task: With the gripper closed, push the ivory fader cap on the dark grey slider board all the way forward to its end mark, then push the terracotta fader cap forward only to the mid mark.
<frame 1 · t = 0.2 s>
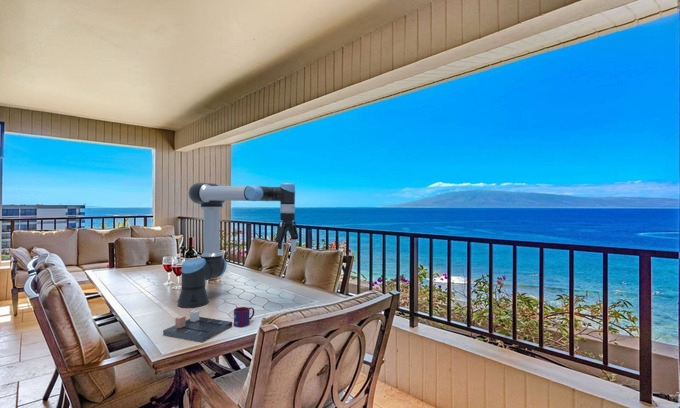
hand: (287, 253, 175), 28 cm above the table, fingers open, 13 cm apart
fader a: (194, 315, 148), point 4 cm above the table, slide at 0.0 cm
fader b: (180, 321, 140), point 4 cm above the table, slide at 0.0 cm
mug: (244, 324, 151), on the table
dark grey slider board: (199, 330, 142), on the table
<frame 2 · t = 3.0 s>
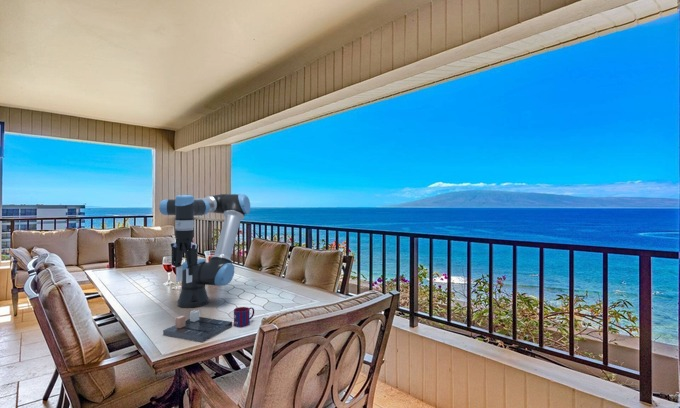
hand: (184, 281, 150), 19 cm above the table, fingers open, 5 cm apart
nothing on the table moved.
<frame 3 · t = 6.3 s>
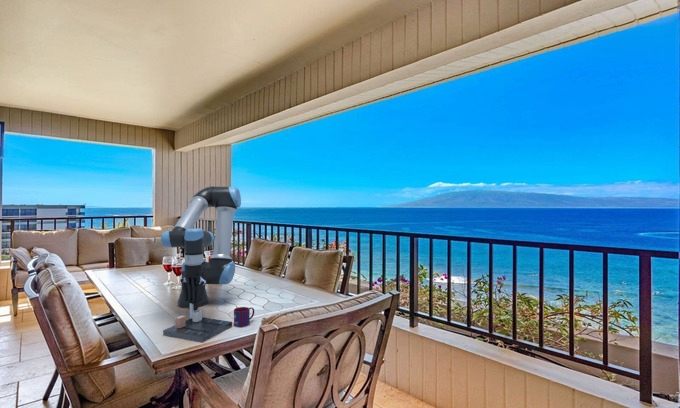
hand: (193, 317, 148), 4 cm above the table, fingers closed
fader a: (197, 316, 148), point 4 cm above the table, slide at 1.4 cm, touching gripper
everything else where it was.
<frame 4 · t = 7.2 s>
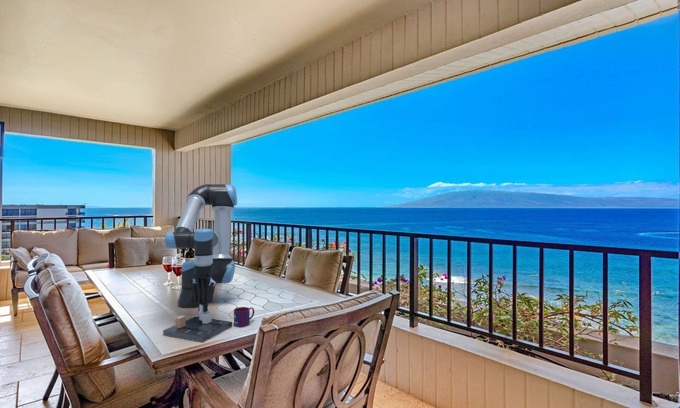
hand: (202, 318, 146), 4 cm above the table, fingers closed
fader a: (206, 317, 146), point 4 cm above the table, slide at 6.6 cm, touching gripper
everything else where it was.
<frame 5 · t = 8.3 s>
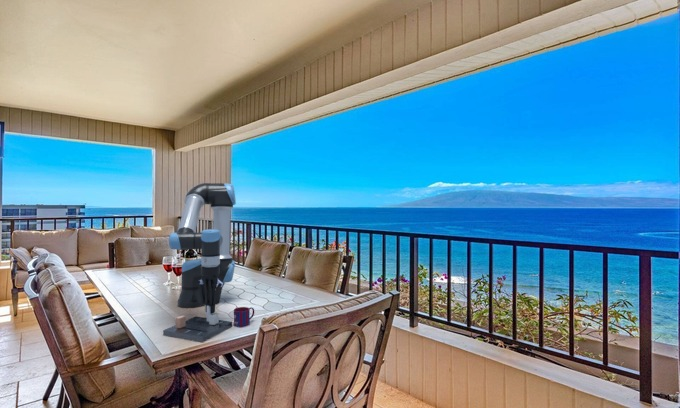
hand: (210, 320, 145), 3 cm above the table, fingers closed
fader a: (214, 318, 145), point 4 cm above the table, slide at 10.4 cm, touching gripper
everything else where it was.
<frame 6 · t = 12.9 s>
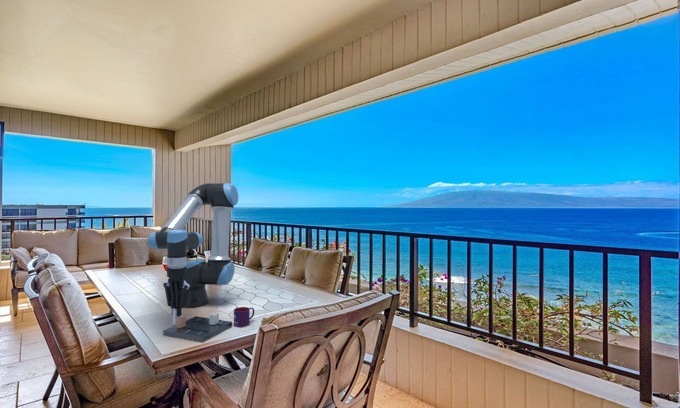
hand: (176, 323, 141), 4 cm above the table, fingers closed
fader a: (214, 318, 145), point 4 cm above the table, slide at 10.4 cm
fader b: (180, 321, 140), point 4 cm above the table, slide at 0.0 cm, touching gripper
everything else where it was.
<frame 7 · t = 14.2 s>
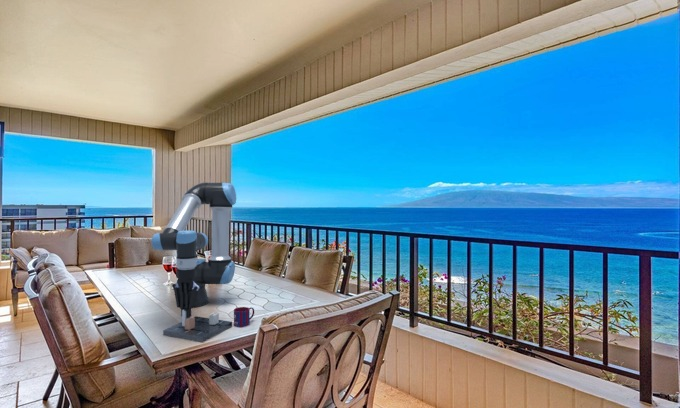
hand: (186, 324, 139), 3 cm above the table, fingers closed
fader b: (189, 323, 139), point 4 cm above the table, slide at 4.9 cm, touching gripper
everything else where it was.
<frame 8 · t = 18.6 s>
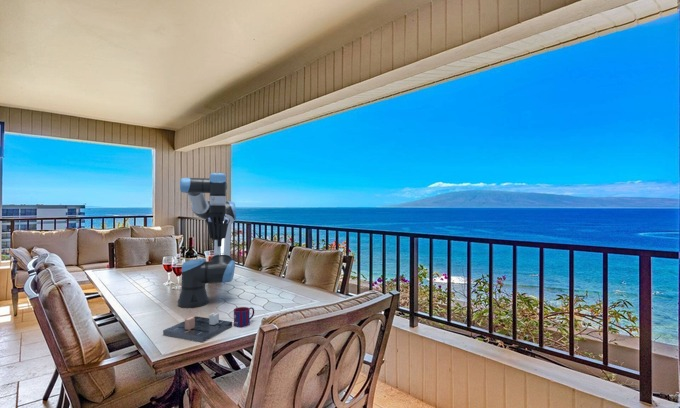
hand: (217, 253, 165), 29 cm above the table, fingers closed
fader b: (189, 323, 139), point 4 cm above the table, slide at 4.9 cm
everything else where it was.
at the end: fader a slide at 10.4 cm; fader b slide at 4.9 cm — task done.
